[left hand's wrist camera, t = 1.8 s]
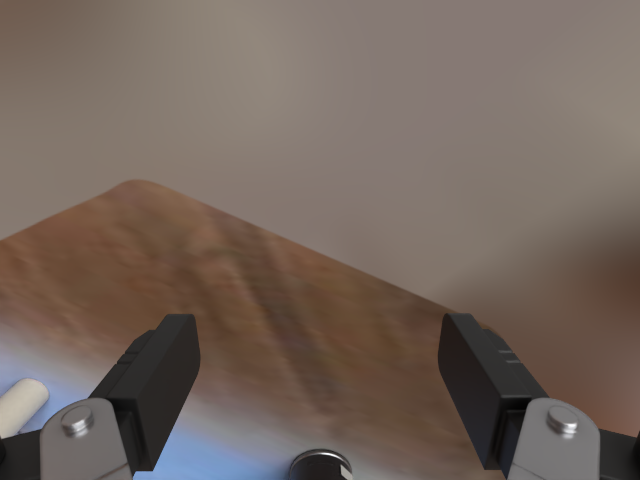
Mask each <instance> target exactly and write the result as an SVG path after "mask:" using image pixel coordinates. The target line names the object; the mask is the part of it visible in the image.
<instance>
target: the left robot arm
mask: <svg viewBox="0 0 640 480" xmlns="http://www.w3.org/2000/svg"><path fill="white" fill-rule="evenodd" d="M438 365H439V370H440V373H441V376H442V378H443V380H444V382H445V384H446V387H447V389H448V391H449V393H450V395H451V398H452V400H453V402H454V404H455V406H456V408H457V411H458V413H459V415H460V417H461V419H462V422H463V424H464V426H465V428H466V430H467V432H468V435H469V437H470V439H471V441H472V443H473V446H474V448H475V450H476V452H477V454H478V457H479V459H480V461H481V463H482V465H483V467H484V470H502V472H503V474H504V476H505V478H506V480H640V431H639V434H638V436H637V438H636V437H631V436H627V435H623V434H619V433H615V432H611V431H607V430H602V429H598V428H597V426H596V425H595V423H594V422H593V421H592V420H591V419H590V418H589V417H588V416H587V415H586V414H585V413H583V412H582V411H580V410H579V409H577V408H576V407H574V406H572V405H570V404H568V403H565V402H563V401H560V400H556V399H552V398H550V397H549V396H548V395H547V394H546V392H545V391H544V390H543V389H542V387H541V386H540V385H539V384H538V382H537V381H536V380H535V379H534V377H533V376H532V375H531V374H530V372H529V371H528V370H527V369H526V367H525V366H524V365H523V364H522V363H520V360H519V359H518V357H517V356H516V355H515V354H514V353H512V350H511V349H510V347H509V346H508V345H507V344H506V342H505V341H504V340H503V339H502V338H500V337H499V336H498V335H496V334H495V333H493V332H492V331H490V330H489V329H482V328H481V327H480V325H479V324H478V323H477V321H476V320H475V319H474V317H473V316H472V315H471V314H469V313H446V314H445V315H444V317H443V321H442V328H441V335H440V343H439V350H438ZM199 367H200V349H199V342H198V335H197V328H196V321H195V317H194V315H193V314H168V315H166V317H165V318H164V319H163V321H162V322H161V323H160V325H159V326H158V327H157V329H156V330H149V331H147V332H146V333H144V334H143V335H141V336H140V337H138V338H137V339H135V340H134V341H133V343H132V344H131V345H130V346H129V348H128V349H127V350H126V351H125V354H123V355H122V356H121V358H120V359H119V360H118V361H117V364H115V365H114V366H113V367H112V369H111V370H110V371H109V372H108V374H107V375H106V376H105V377H104V379H103V380H102V381H101V382H100V384H99V385H98V386H97V387H96V389H95V390H94V391H93V392H92V393H91V395H90V396H89V397H88V398H87V399H84V400H80V401H77V402H74V403H72V404H70V405H68V406H66V407H64V408H63V409H61V410H60V411H58V412H57V413H55V414H54V415H53V416H52V417H51V418H50V419H49V420H48V421H47V422H46V423H45V425H44V426H43V428H42V429H39V430H36V431H32V432H28V433H24V434H19V435H15V436H11V437H7V438H3V439H1V436H0V480H133V479H132V478H133V476H134V474H135V472H136V471H153V470H154V467H155V465H156V463H157V461H158V459H159V457H160V454H161V452H162V450H163V448H164V446H165V444H166V442H167V439H168V437H169V435H170V433H171V431H172V429H173V426H174V424H175V422H176V420H177V418H178V416H179V413H180V411H181V409H182V407H183V405H184V403H185V401H186V398H187V396H188V394H189V392H190V390H191V388H192V385H193V383H194V381H195V379H196V377H197V374H198V372H199ZM290 480H353V475H352V470H351V466H350V464H349V462H348V461H347V460H346V459H345V458H344V457H343V456H342V455H340V454H338V453H336V452H333V451H329V450H313V451H309V452H306V453H304V454H302V455H300V456H299V457H298V458H296V459H295V460H294V462H293V463H292V465H291V468H290Z"/></svg>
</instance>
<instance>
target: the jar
mask: <svg viewBox="0 0 640 480" xmlns="http://www.w3.org/2000/svg"><path fill="white" fill-rule="evenodd" d="M48 399H49V391H48V389H47V388H46V386H45V385H44V384H42V383H41V382H39V381H37V380H34V379H29V378H26V379H21V380H19V381H18V382H16V383H15V384H14V385H13V386H12V387H11V388H10V389H9V390H8V391H6V392H5V393H4V394H3V395H2V396H1V397H0V436H1V439H3V438H7V437H11V436H15V435H16V434H17V433H18V431H19V430H20V429H21V428H22V427H23V426H24V425H25V424H26V423H27V422H28V421H29V420H30V419H31V418H32V417H33V415H34V414H35V413H36V412H37V411H38V410H39V409H40V408H41V407H42V406H43V405H44V404H45V403H46V402H47V400H48Z"/></svg>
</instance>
